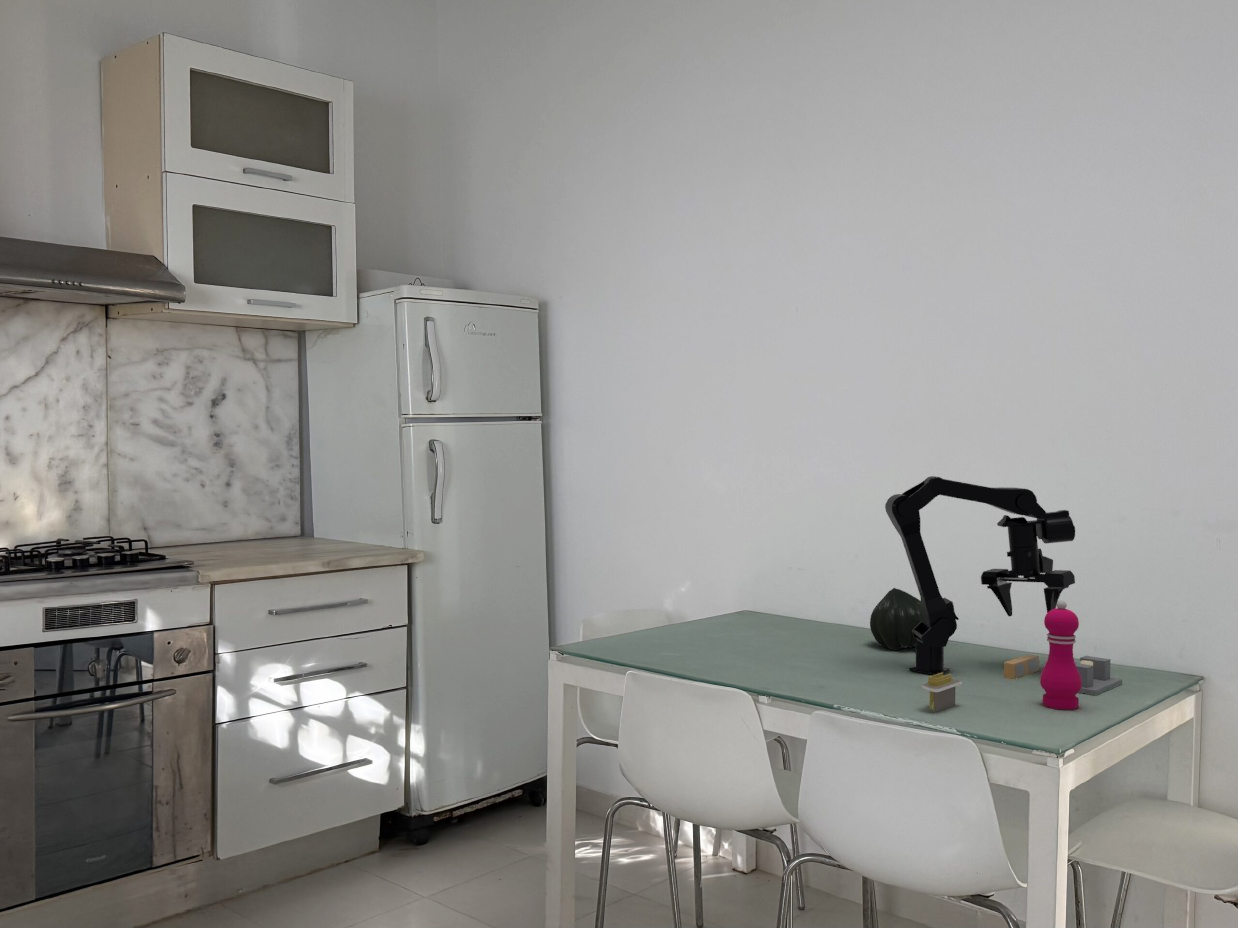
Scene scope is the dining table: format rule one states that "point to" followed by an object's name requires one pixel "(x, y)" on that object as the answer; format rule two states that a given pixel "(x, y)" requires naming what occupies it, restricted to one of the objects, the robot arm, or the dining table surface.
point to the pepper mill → (1061, 660)
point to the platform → (941, 691)
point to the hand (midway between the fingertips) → (1030, 617)
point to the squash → (896, 620)
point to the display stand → (1096, 675)
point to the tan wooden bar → (1021, 666)
